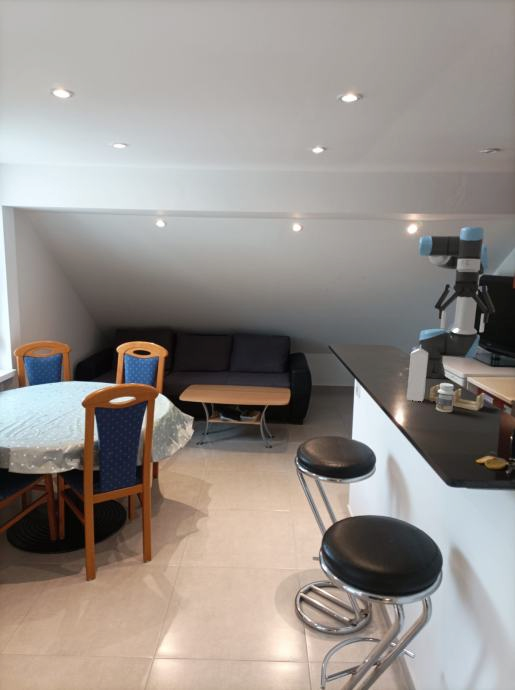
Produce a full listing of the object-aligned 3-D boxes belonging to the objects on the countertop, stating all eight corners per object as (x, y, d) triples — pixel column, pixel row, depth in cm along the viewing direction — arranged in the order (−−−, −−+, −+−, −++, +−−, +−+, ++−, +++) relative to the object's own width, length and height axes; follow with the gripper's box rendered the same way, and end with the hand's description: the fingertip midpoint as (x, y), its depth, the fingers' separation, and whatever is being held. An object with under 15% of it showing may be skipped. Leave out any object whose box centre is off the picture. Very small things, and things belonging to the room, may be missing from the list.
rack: (436, 396, 185) (437, 384, 184) (483, 406, 174) (484, 393, 173) (429, 400, 179) (430, 387, 178) (476, 410, 168) (478, 397, 167)
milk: (406, 400, 179) (410, 345, 176) (408, 396, 185) (413, 343, 181) (422, 402, 177) (427, 347, 173) (424, 398, 182) (429, 344, 178)
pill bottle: (438, 407, 171) (441, 381, 169) (454, 410, 167) (457, 384, 165) (433, 410, 166) (436, 384, 165) (449, 413, 163) (452, 387, 161)
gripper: (429, 270, 167) (423, 327, 170) (503, 271, 151) (496, 334, 154) (436, 271, 173) (430, 326, 176) (508, 272, 157) (501, 332, 160)
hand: (461, 330), depth 165 cm, fingers open, 13 cm apart
